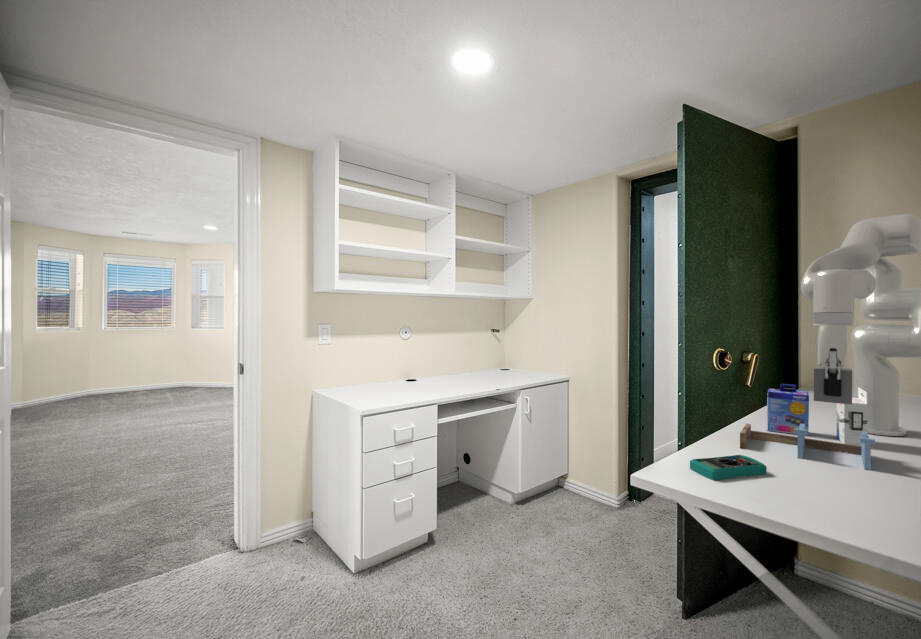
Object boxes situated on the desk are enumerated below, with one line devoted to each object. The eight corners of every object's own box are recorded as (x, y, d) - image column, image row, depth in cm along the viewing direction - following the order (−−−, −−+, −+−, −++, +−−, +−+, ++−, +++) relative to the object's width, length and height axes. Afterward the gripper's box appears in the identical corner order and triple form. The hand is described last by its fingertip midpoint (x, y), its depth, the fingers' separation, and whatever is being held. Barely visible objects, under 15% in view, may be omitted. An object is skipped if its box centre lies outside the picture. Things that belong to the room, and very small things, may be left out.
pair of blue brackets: (796, 445, 115) (796, 419, 115) (870, 456, 105) (871, 428, 105) (793, 457, 106) (794, 429, 106) (874, 470, 96) (875, 440, 96)
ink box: (835, 437, 122) (835, 385, 121) (858, 439, 119) (859, 386, 119) (843, 445, 114) (843, 390, 114) (868, 448, 112) (868, 392, 111)
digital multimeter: (769, 476, 95) (769, 463, 95) (712, 482, 92) (712, 469, 92) (741, 465, 103) (741, 452, 102) (688, 470, 99) (688, 457, 99)
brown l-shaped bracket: (747, 436, 123) (747, 422, 123) (866, 454, 107) (866, 439, 107) (739, 448, 113) (739, 433, 113) (870, 470, 97) (870, 452, 97)
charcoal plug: (814, 397, 109) (814, 366, 109) (851, 401, 105) (851, 368, 104) (813, 400, 106) (813, 368, 106) (852, 404, 101) (852, 370, 101)
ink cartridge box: (767, 431, 128) (767, 383, 128) (767, 427, 132) (767, 380, 132) (809, 436, 122) (809, 386, 122) (808, 432, 127) (808, 383, 126)
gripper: (814, 319, 114) (813, 387, 114) (812, 320, 101) (811, 397, 101) (852, 319, 109) (851, 390, 109) (855, 320, 96) (854, 401, 96)
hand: (832, 393), depth 105 cm, fingers closed on charcoal plug, 4 cm apart
